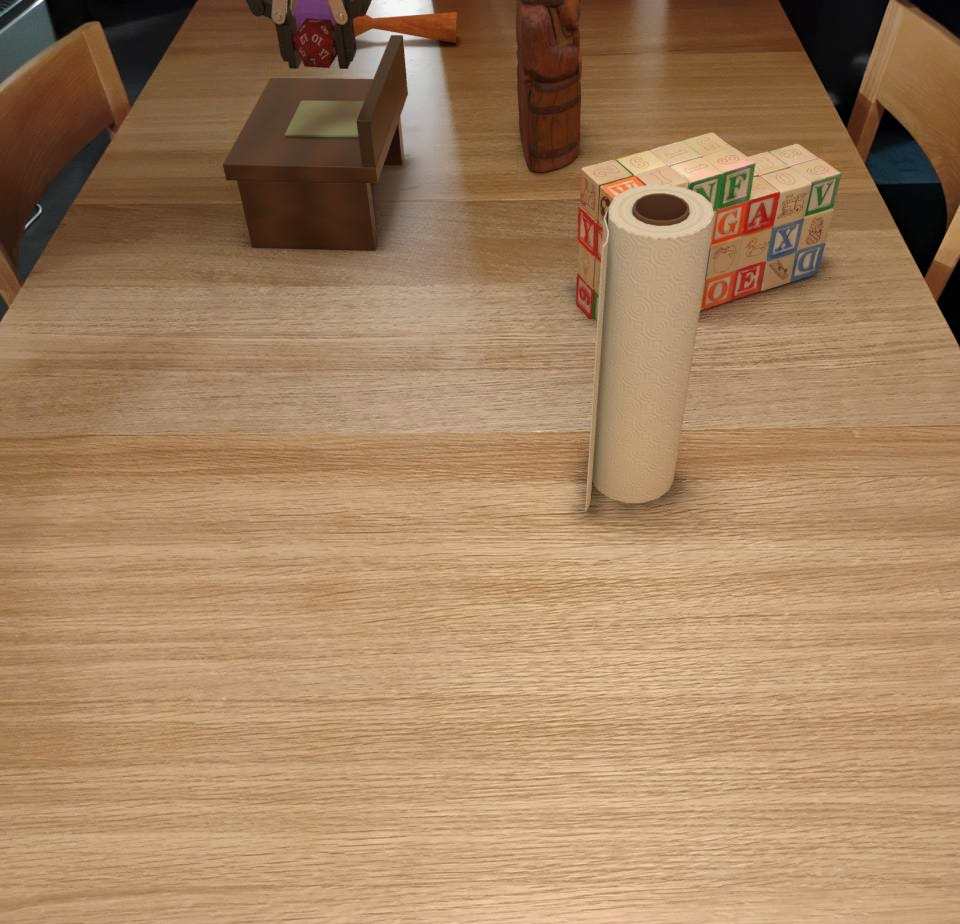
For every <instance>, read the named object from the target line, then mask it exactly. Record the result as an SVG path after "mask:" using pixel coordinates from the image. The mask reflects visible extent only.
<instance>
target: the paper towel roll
mask: <svg viewBox="0 0 960 924" xmlns="http://www.w3.org/2000/svg"><path fill="white" fill-rule="evenodd" d="M713 222H714V212H713V208H712V204H711V203H710V202H709V201H708V200H707V199H706V198H705V197H703V196H702V195H701V194H699V193H696V192H694V191H692V190H689V189H687V188H683V187H677V186H672V185H644V186H640V187H636V188H632V189H628V190H626V191H624V192H623V193H621V194H619V195H617V196H615V198H614V199H613V201H612V202H611V204H610V206H609V207H608V210H607V212H606V214H605V216H604V222H603V237H602V253H601V269H600V285H599V301H598V316H597V319H596V320H597V321H596V332H595V333H596V334H595V348H594V349H595V351H594V365H593V366H594V368H593V379H592V380H593V381H592V396H591V397H592V398H591V411H590V412H591V414H590V429H589V430H590V431H589V442H588V443H589V445H588V458H587V459H588V461H587V475H586V476H587V477H586V495H585V509H584V511H585V512H587V511H588V510H589V508H590V506H591V499H592V488H593V486H594V487H595V489H596V490H597V491H598V492H600V493H601V494H602V495H604V496H605V497H607V498H609V499H611V500H614V501H618V502H622V503H626V504H640V503H641V504H644V503H647V502H650V501H653V500H657V499H659V498H660V497H662V496H663V495H665V494H666V493H667V492H668V491H669V490H670V489H671V487H672V485H673V483H674V481H675V476H676V469H677V464H678V463H677V461H678V456H679V450H680V442H681V438H682V437H681V436H682V431H683V423H684V418H685V417H684V416H685V412H686V405H687V397H688V391H689V384H690V377H691V372H692V364H693V358H694V351H695V347H696V346H695V345H696V339H697V333H698V327H699V319H700V312H701V311H700V307H701V300H702V294H703V287H704V281H705V274H706V268H707V261H708V255H709V248H710V242H711V235H712V229H713Z"/></svg>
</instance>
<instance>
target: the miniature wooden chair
mask: <svg viewBox="0 0 960 924" xmlns="http://www.w3.org/2000/svg"><path fill="white" fill-rule="evenodd" d="M404 43H405V42H404V34H391V35H390V36H389V38H388V42H387V44H386V47H385V49H384V51H383V54H382V57H381V59H380V61H379V64H378V66H377V69H376V71H375V74H374V76H373V78H322V77H321V78H316V77H315V78H312V77H311V78H310V77H309V78H308V77H306V78H305V77H303V78H302V77H270V78H269V79H268V81H267V83H266V85H265V87H264V89H263V90H262V92H261V94H260V96H259V98H258V100H257V101H256V103H255V104H254V107H253V109H252V111H251V112H250V114H249V116H248V118H247V120H246V121H245V123H244V124H243V127H242V129H241V130H240V132H239V134H238V136H237V138H236V139H235V142H234V143H233V145H232V147H231V149H230V151H229V153H228V154H227V156H226V157H225V158H224V159H225V160H224V162H223V163H222V168H223V172H224V176H225V180H226V181H235V182H236V183H237V187H238V191H239V195H240V199H241V205H242V209H243V213H244V218H245V222H246V225H247V231H248V235H249V239H250V243H251V248H265V249H266V248H269V249H270V248H271V249H278V248H279V249H305V250H306V249H308V250H309V249H310V250H345V251H348V250H349V251H376V248H377V245H378V233H377V226H376V219H375V211H374V202H373V195H372V186H371V184H378V182H379V180H380V176H381V174H382V171H383V168H384V166H403V164H404V161H405V150H404V149H405V148H404V138H403V130H402V129H403V128H402V119H401V116H402V113H403V110H404V107H405V104H406V101H407V99H408V96H409V90H408V80H407V79H408V77H407V65H406V55H405V45H404Z"/></svg>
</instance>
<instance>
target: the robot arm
mask: <svg viewBox="0 0 960 924" xmlns="http://www.w3.org/2000/svg"><path fill="white" fill-rule="evenodd" d="M372 1H373V0H328V3H329V6H330V8H331V11H332V14H333V17H334V19H335V23H334V25H333V26H334V34H335V41H336V48H337V56H336V57H337V61H338V62H337V63H338V68H339V69H340V70H348V69H349V67H350V65H351V63H353V61H354V59H355V57H356V53H357V43H356V42H357V41H356V37H355V32H354V23H353V19H354V18H356V17H358V16H360V17H362V16H364V15H365V14H366V15H367V13H368V11H369V8H370V7H371V3H372ZM245 2H246V4H247V6H248V8H249V10H250V12H251V13H252V15H254V16H255V17H261V16H263V17H265V18H268V19H270V20H271V21H272V22H273V23H274V26H275V31H276V36H277V42H278V48H279V52H280V56H281V58H282V61H283V62H286V63H288V69H290V70H291V69H292V70H293V69H294V70H297V69H299V68H300V66H301V64H302V59H301V57H300V55H299V53H298V50H297V48H296V46H295V43H294V41H293V38H294V36H295V35H296V33H297V32H298V31H297V24H296V18H295V16H292V15H293V13H292V6H293V0H245Z"/></svg>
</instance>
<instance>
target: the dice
mask: <svg viewBox="0 0 960 924" xmlns="http://www.w3.org/2000/svg"><path fill="white" fill-rule="evenodd" d="M293 41H294V43H295V46H296V48H297V50H298V53H299V55H300V57H301V59H302V61H301V63H302V64H303V67H304V68H319V69H330V68H331V66H332V64H333V63H334V61H335V60H336V58H337V57H338V56H337V48H336V41H335V34H334V27H333V24H332V22H331V20H326V19H310V18H306V19H305V20H304V22H303V24H302V25H301V27H300V28H299V30H298V32H297V33H296V35H295V36H294V38H293Z"/></svg>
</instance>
